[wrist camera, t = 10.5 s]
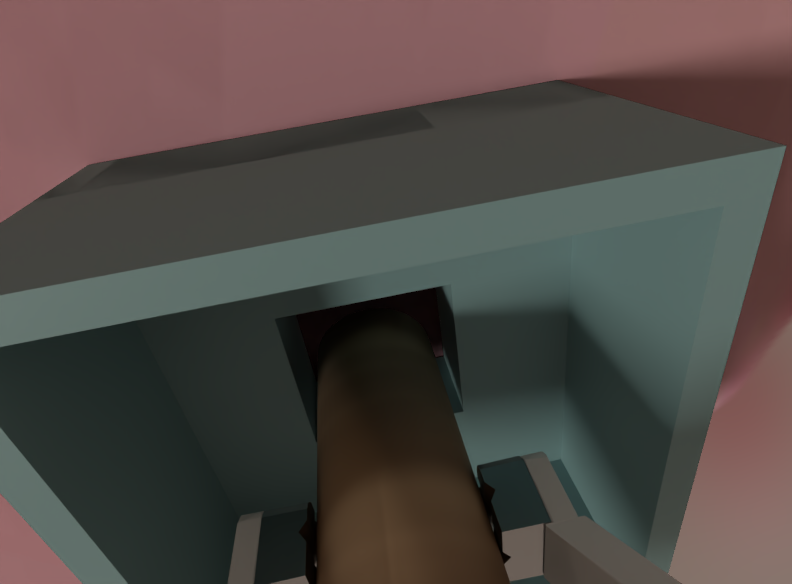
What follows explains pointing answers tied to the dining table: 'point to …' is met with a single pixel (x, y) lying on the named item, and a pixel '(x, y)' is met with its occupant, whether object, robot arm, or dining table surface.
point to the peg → (394, 463)
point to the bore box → (366, 280)
